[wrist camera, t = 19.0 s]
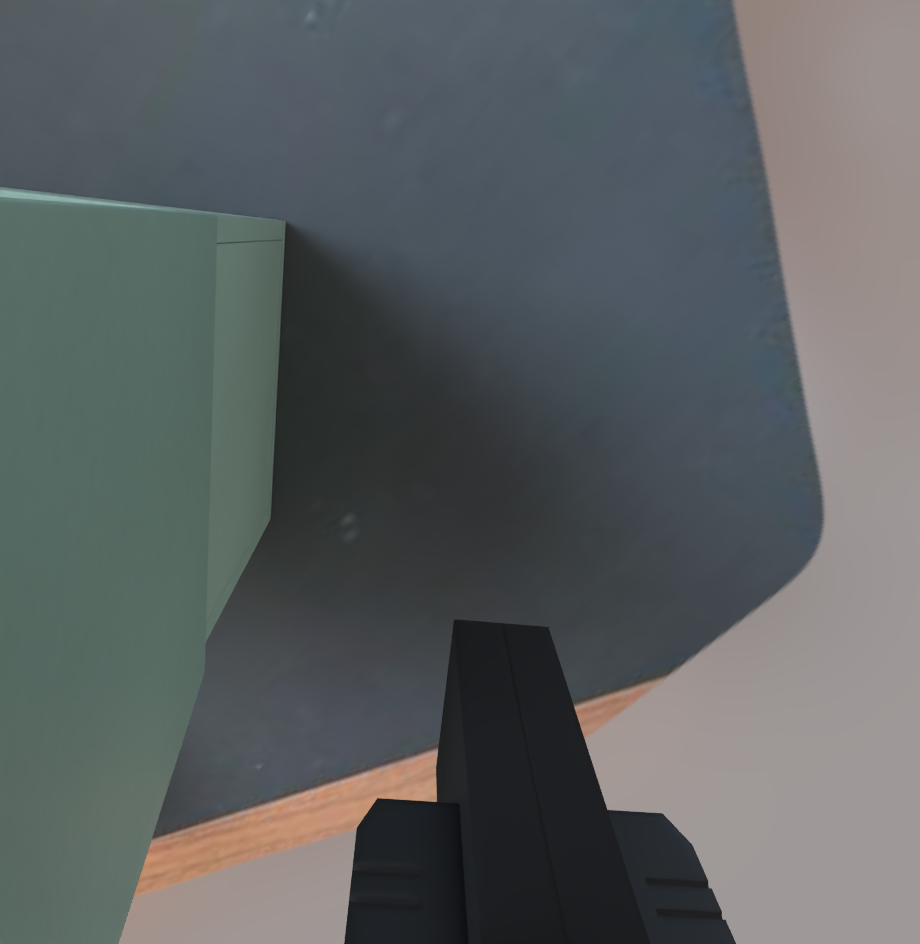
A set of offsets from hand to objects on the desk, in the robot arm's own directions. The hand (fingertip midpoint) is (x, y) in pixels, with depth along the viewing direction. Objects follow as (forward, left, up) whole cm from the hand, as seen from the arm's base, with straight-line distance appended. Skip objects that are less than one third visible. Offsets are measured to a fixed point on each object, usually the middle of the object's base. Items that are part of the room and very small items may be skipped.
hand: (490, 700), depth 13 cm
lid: (0, -7, -3) cm, 8 cm away
